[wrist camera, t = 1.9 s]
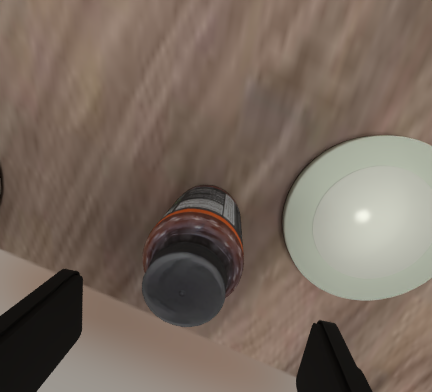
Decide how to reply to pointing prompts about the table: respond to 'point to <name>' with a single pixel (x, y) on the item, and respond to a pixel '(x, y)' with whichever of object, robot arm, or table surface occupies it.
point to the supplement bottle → (193, 257)
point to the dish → (363, 218)
